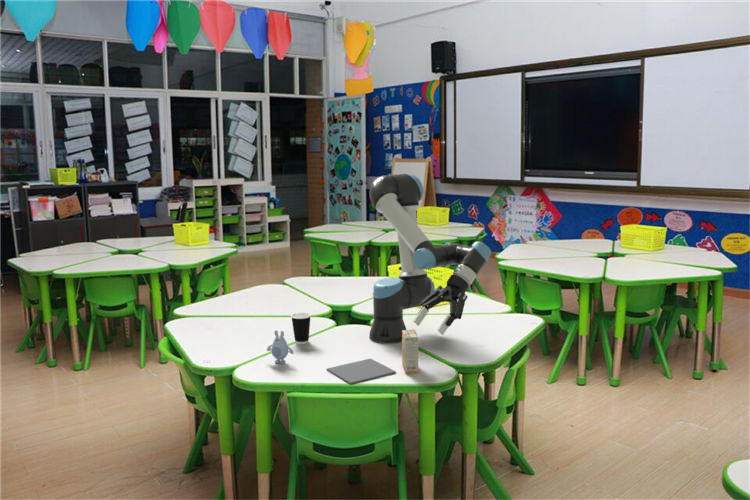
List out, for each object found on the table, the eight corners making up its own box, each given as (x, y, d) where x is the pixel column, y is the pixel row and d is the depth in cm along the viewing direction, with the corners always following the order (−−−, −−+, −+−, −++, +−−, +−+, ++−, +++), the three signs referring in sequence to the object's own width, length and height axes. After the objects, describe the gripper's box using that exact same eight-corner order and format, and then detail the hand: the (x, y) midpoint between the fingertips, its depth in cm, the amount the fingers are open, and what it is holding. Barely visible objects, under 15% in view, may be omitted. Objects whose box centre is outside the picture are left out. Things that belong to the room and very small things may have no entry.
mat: (370, 360, 234) (370, 358, 234) (395, 373, 220) (395, 371, 220) (326, 370, 224) (326, 368, 224) (350, 384, 211) (350, 382, 211)
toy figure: (263, 364, 231) (261, 331, 229) (271, 358, 237) (270, 326, 235) (289, 367, 227) (288, 334, 225) (297, 361, 233) (296, 329, 231)
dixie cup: (315, 343, 253) (314, 316, 251) (295, 346, 250) (294, 319, 248) (307, 338, 260) (306, 311, 258) (288, 341, 257) (287, 314, 255)
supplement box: (401, 365, 227) (401, 329, 225) (415, 365, 228) (415, 329, 226) (404, 374, 219) (404, 337, 217) (418, 373, 220) (418, 336, 217)
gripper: (433, 268, 239) (400, 314, 233) (479, 279, 218) (444, 330, 213) (444, 280, 243) (412, 325, 237) (490, 292, 222) (457, 342, 217)
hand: (427, 328), depth 225 cm, fingers open, 13 cm apart
